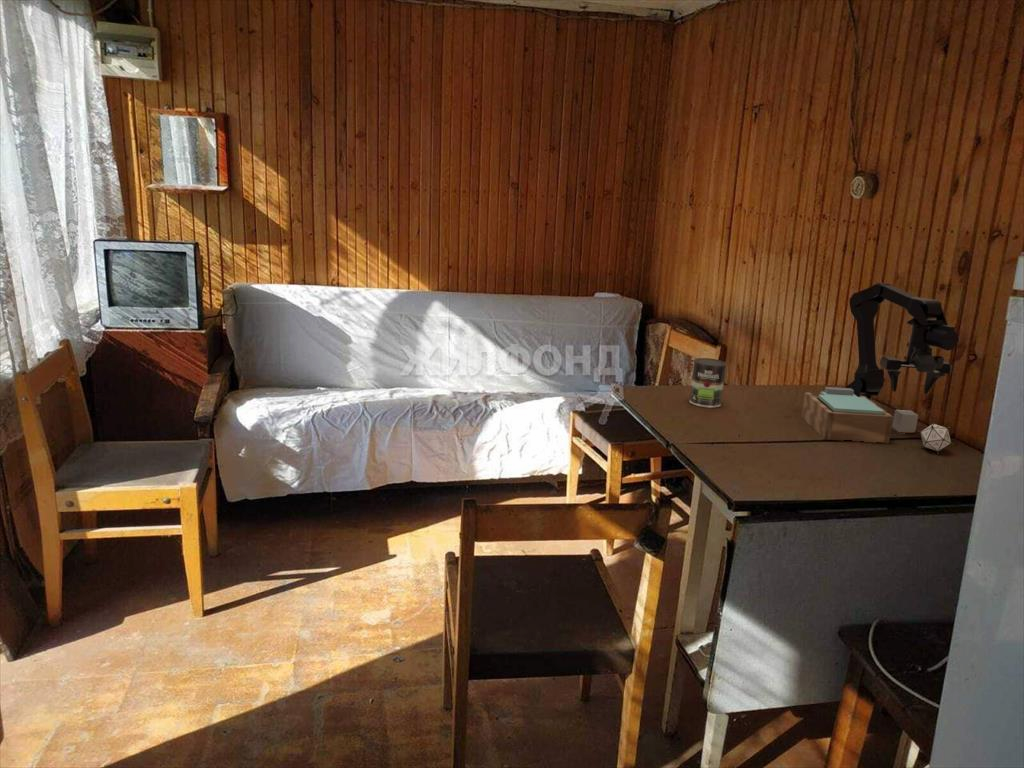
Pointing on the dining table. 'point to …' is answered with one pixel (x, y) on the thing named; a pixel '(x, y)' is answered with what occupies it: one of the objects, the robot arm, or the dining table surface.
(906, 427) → the grey block
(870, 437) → the box frame
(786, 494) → the dining table surface
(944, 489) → the dining table surface
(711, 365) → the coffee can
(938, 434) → the game die
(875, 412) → the trapdoor
